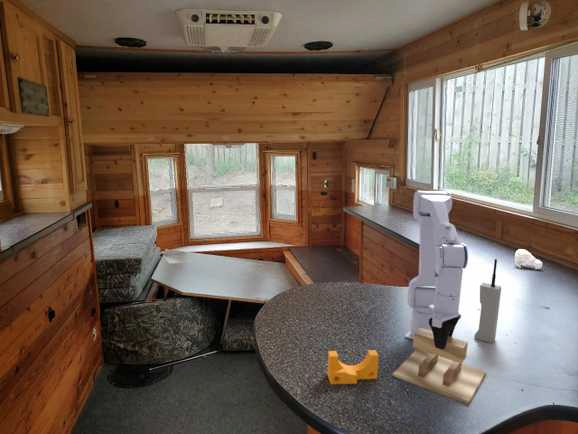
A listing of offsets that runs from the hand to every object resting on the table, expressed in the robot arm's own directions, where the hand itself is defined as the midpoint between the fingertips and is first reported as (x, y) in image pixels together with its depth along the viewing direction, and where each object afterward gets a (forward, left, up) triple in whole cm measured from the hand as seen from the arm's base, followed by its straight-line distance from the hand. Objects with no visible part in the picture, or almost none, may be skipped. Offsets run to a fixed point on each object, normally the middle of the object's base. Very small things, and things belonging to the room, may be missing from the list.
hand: (442, 344), depth 103 cm
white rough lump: (-122, +2, -9) cm, 122 cm away
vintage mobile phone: (-29, +4, -9) cm, 31 cm away
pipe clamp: (+15, -16, -9) cm, 24 cm away
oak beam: (0, -1, -2) cm, 2 cm away
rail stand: (0, 0, -8) cm, 8 cm away
